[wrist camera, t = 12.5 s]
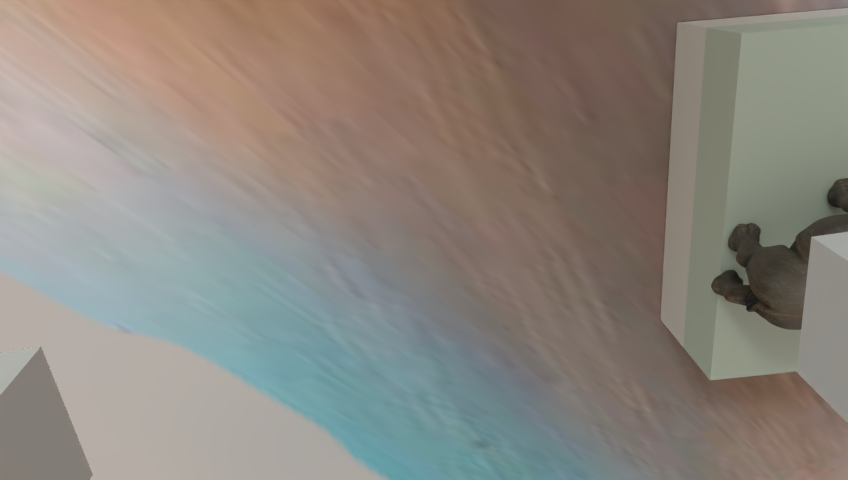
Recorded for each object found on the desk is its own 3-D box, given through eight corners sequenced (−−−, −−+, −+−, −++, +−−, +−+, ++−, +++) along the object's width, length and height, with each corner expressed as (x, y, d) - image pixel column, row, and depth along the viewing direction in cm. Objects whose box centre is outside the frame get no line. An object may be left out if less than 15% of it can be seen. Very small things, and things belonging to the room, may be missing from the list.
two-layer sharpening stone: (677, 22, 37) (741, 33, 30) (858, 7, 37) (961, 14, 31) (660, 319, 43) (710, 380, 37) (814, 303, 44) (890, 361, 37)
